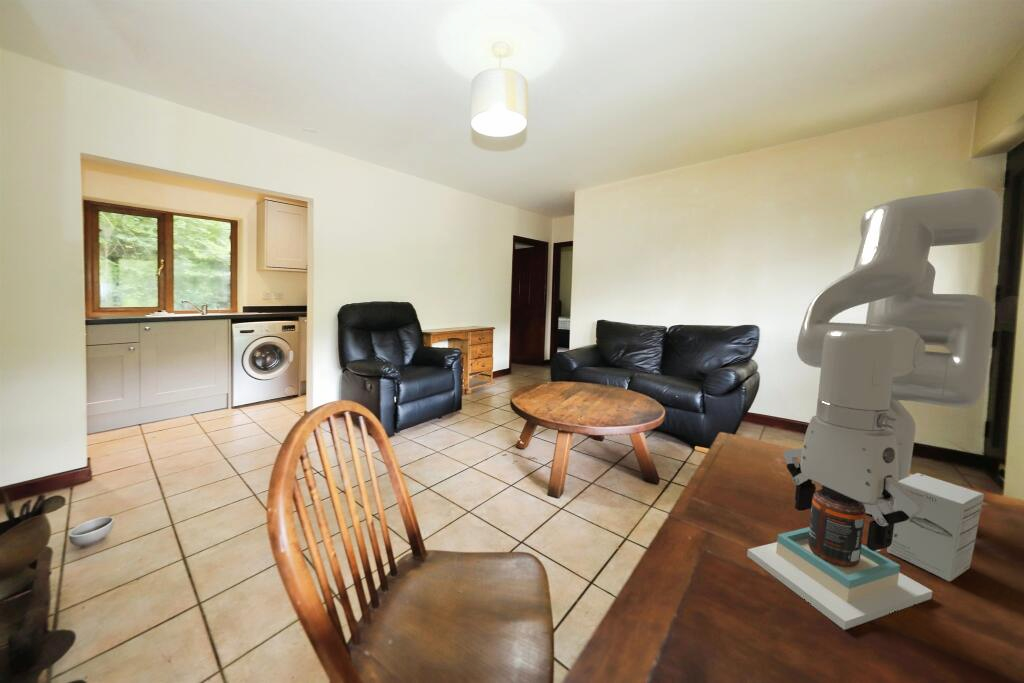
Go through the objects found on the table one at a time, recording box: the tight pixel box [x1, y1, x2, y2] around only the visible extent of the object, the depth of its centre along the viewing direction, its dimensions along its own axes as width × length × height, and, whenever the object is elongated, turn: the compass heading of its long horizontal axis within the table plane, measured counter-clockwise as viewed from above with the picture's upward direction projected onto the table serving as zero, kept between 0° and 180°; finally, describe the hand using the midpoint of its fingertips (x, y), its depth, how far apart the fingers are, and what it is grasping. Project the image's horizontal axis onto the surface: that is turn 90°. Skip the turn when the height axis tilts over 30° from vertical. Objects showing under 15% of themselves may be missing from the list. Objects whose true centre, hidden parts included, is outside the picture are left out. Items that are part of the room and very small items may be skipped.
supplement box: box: [886, 472, 985, 583], centre depth 59 cm, size 7×7×13 cm
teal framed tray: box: [746, 526, 933, 631], centre depth 56 cm, size 17×14×4 cm
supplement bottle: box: [808, 485, 866, 566], centre depth 56 cm, size 6×6×11 cm
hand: (837, 526), depth 55 cm, fingers open, 9 cm apart
